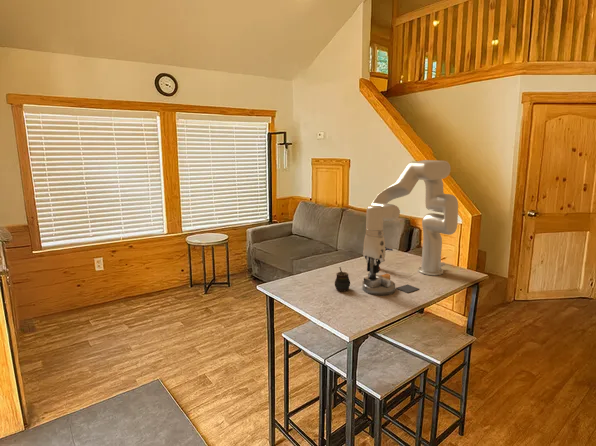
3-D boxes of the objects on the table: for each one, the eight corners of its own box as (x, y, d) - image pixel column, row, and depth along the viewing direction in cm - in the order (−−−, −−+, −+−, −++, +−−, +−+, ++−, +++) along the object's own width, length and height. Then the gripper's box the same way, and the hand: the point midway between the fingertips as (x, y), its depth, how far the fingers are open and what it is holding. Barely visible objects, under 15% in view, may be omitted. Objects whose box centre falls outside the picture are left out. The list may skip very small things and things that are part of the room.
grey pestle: (372, 276, 175) (373, 255, 173) (377, 278, 172) (378, 257, 170) (367, 277, 173) (368, 257, 171) (372, 279, 170) (373, 258, 168)
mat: (407, 285, 181) (407, 284, 181) (419, 289, 176) (419, 288, 176) (396, 288, 177) (396, 287, 177) (407, 293, 171) (407, 292, 171)
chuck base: (378, 281, 186) (378, 275, 186) (401, 290, 174) (402, 284, 173) (355, 288, 178) (355, 282, 178) (378, 298, 166) (379, 291, 165)
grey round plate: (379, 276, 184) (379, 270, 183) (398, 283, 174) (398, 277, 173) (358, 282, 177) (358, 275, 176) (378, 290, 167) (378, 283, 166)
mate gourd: (339, 293, 172) (339, 272, 170) (331, 288, 179) (331, 268, 177) (352, 291, 174) (353, 270, 172) (344, 285, 181) (345, 266, 179)
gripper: (394, 235, 164) (392, 275, 167) (367, 228, 177) (366, 265, 181) (381, 237, 160) (380, 278, 163) (355, 230, 173) (354, 268, 177)
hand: (372, 271), depth 172 cm, fingers closed on grey pestle, 3 cm apart
